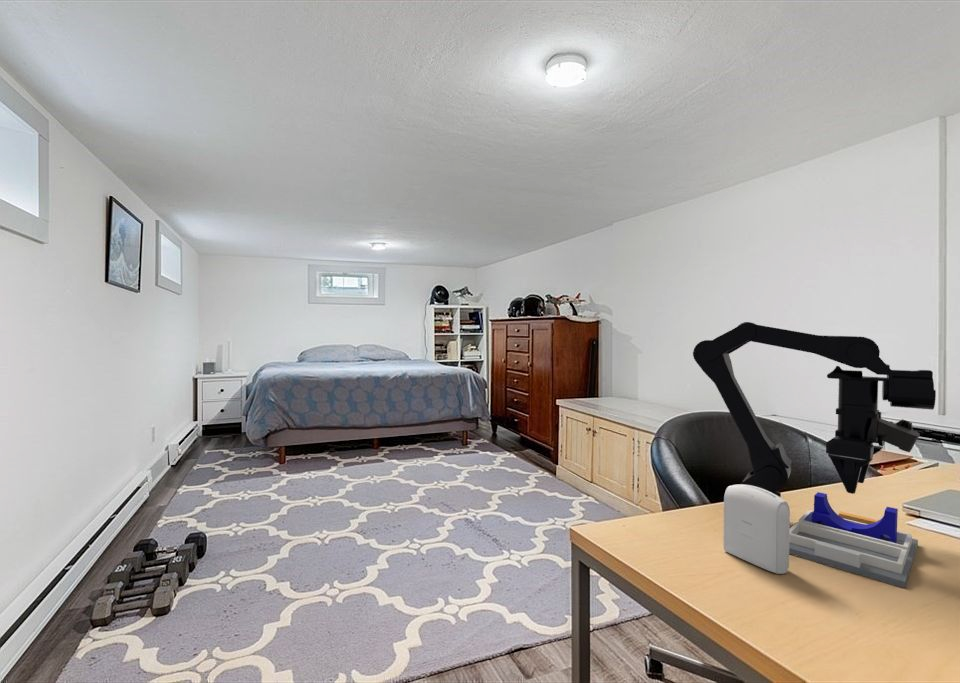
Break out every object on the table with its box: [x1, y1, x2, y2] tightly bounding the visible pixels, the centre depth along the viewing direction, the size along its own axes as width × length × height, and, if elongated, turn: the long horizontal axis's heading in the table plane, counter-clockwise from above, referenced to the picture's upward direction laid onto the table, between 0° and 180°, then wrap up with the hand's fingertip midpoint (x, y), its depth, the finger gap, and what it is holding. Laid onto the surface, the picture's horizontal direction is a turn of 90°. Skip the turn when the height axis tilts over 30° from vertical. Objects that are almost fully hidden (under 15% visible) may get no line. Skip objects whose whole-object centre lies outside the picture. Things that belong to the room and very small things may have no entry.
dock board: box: [789, 509, 919, 589], centre depth 86 cm, size 22×17×3 cm
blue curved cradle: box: [812, 491, 899, 543], centre depth 89 cm, size 12×4×6 cm, turn 44°
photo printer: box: [723, 483, 791, 575], centre depth 80 cm, size 10×4×12 cm, turn 26°
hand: (855, 487), depth 88 cm, fingers open, 9 cm apart
